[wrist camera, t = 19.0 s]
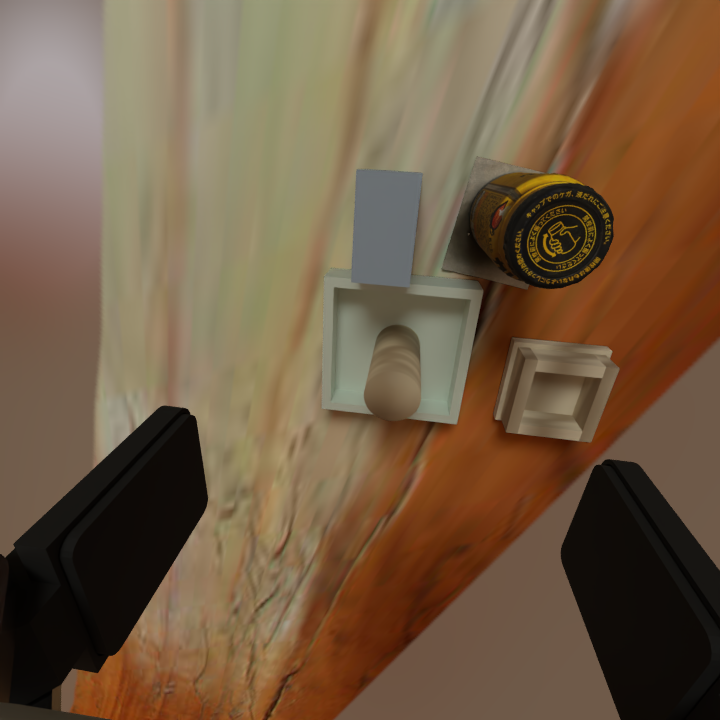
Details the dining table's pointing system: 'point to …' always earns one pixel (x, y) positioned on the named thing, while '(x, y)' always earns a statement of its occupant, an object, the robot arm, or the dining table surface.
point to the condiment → (528, 228)
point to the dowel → (394, 374)
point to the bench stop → (385, 226)
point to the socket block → (554, 388)
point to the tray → (399, 307)
